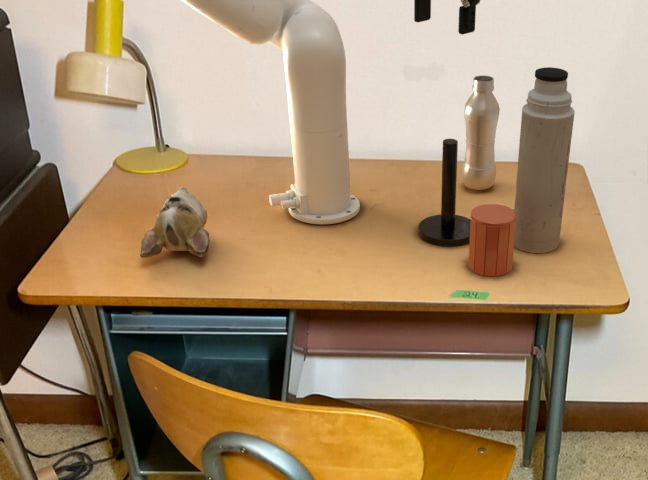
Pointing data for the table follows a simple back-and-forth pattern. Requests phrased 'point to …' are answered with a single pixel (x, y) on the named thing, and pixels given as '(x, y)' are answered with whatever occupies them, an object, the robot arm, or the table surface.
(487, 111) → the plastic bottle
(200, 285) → the table surface
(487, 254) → the cup
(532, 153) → the thermos bottle
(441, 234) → the bowl
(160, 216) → the ceramic sculpture
